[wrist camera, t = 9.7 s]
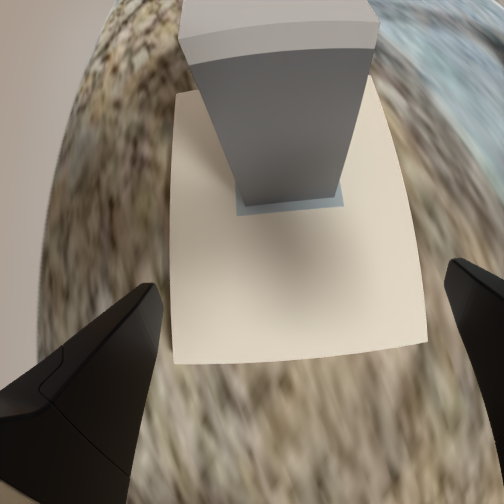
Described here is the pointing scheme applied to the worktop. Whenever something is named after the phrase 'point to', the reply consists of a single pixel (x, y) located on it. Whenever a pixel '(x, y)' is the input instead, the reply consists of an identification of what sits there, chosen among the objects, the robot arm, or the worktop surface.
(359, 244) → the board
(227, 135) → the plug block
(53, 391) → the robot arm
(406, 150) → the worktop surface
